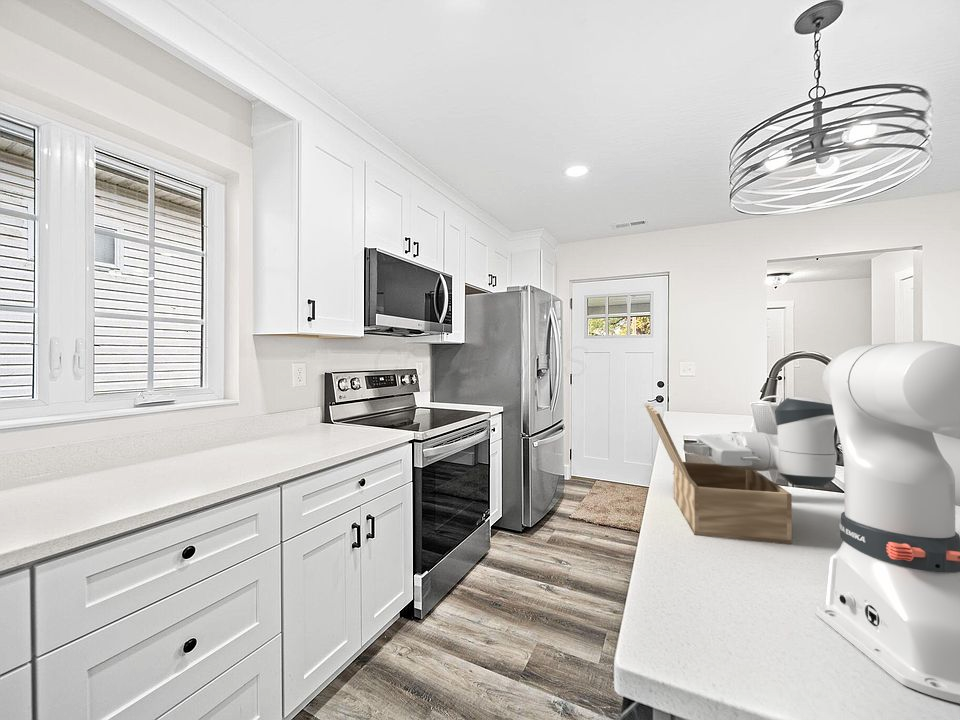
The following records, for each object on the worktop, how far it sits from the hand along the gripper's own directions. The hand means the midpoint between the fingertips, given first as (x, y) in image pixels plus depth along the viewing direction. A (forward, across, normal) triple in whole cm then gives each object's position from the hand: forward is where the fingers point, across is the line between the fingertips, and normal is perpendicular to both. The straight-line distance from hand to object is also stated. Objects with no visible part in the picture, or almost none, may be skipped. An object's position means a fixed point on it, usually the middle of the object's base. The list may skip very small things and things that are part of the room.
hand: (684, 448), depth 106 cm
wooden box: (-8, -1, -16) cm, 18 cm away
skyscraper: (-24, +20, -16) cm, 35 cm away
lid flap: (+4, -1, +2) cm, 5 cm away
